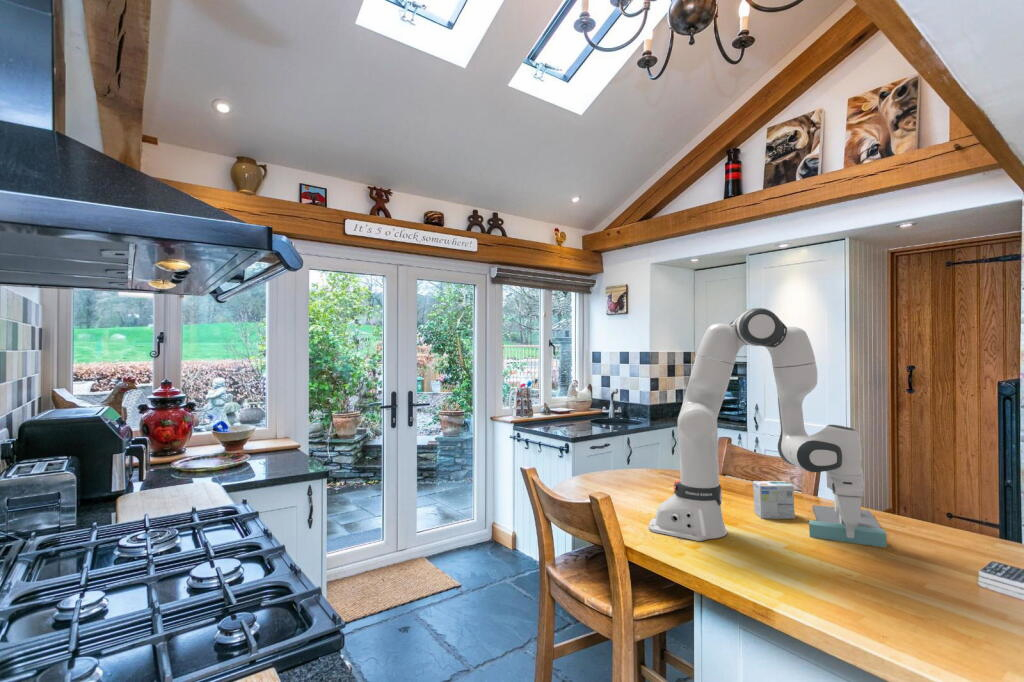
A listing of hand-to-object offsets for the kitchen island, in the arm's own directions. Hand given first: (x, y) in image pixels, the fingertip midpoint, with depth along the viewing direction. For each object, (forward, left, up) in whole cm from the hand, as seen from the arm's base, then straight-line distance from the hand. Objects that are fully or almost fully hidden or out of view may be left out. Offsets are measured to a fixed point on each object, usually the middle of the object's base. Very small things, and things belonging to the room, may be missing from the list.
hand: (847, 531), depth 142 cm
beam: (0, 0, -3) cm, 3 cm away
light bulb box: (-18, +16, -3) cm, 25 cm away
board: (+2, +18, -2) cm, 18 cm away
